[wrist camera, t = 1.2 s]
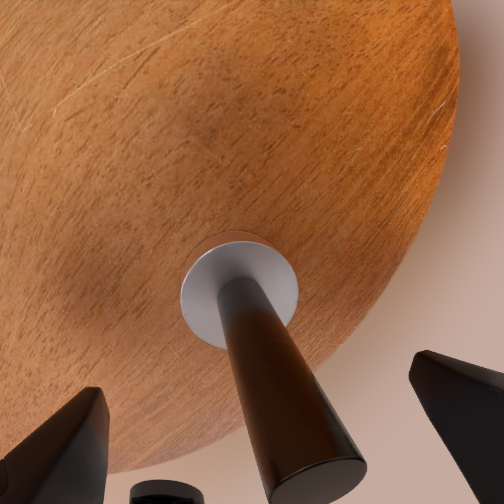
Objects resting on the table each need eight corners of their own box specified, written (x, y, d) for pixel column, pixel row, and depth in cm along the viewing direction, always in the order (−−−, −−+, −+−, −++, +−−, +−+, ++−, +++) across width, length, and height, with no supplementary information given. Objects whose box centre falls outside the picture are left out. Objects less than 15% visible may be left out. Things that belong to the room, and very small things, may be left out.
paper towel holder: (282, 325, 16) (389, 505, 6) (184, 331, 15) (199, 547, 5) (288, 229, 15) (466, 362, 4) (178, 231, 14) (161, 421, 3)
